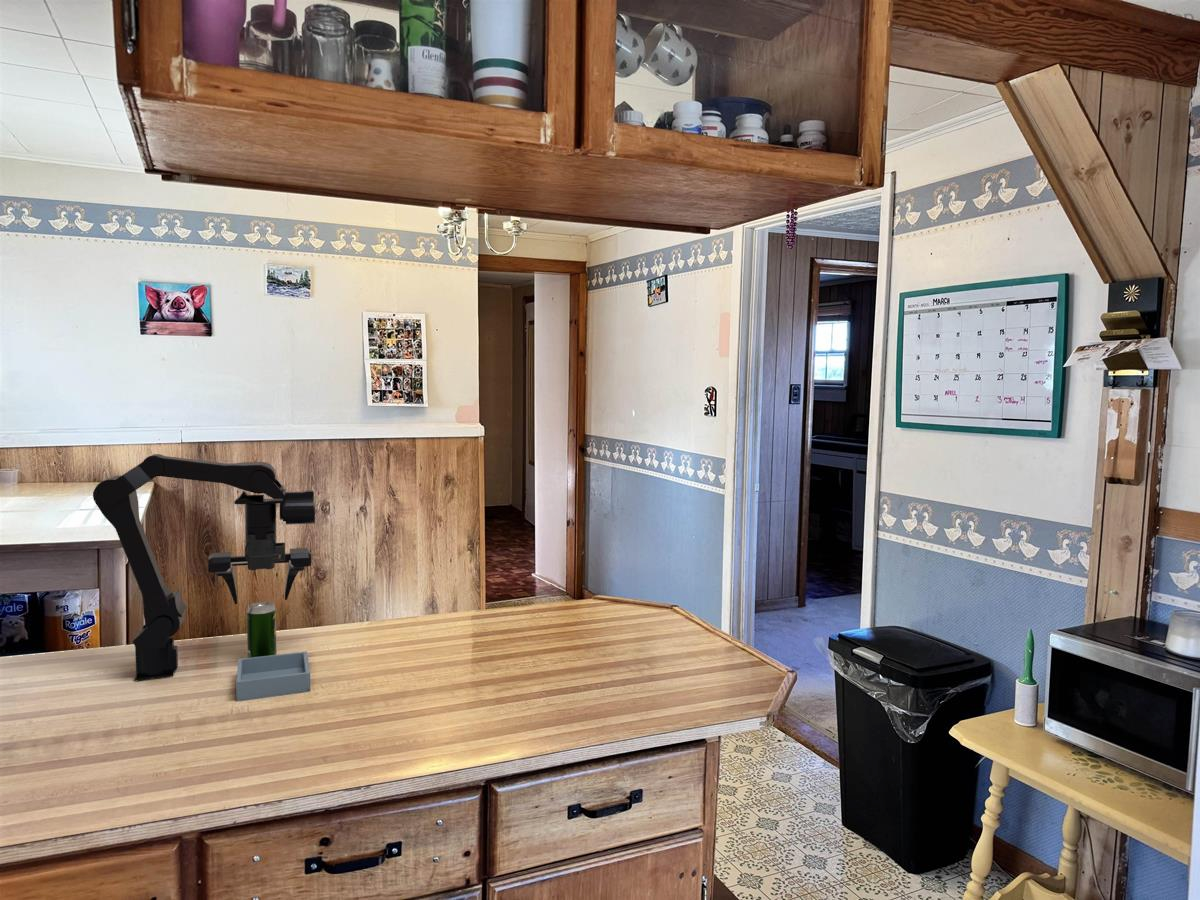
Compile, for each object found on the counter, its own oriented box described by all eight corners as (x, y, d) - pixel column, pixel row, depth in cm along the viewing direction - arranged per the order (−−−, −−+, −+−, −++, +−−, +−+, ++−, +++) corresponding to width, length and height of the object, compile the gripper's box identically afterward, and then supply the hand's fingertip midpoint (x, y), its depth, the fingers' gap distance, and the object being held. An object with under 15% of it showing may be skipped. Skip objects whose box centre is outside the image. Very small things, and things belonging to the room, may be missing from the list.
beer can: (253, 669, 153) (252, 610, 152) (243, 662, 157) (242, 604, 156) (280, 663, 157) (279, 605, 156) (270, 656, 161) (269, 599, 160)
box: (236, 701, 138) (236, 682, 138) (238, 676, 150) (238, 659, 149) (310, 691, 143) (310, 673, 143) (307, 668, 155) (306, 651, 154)
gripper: (206, 535, 144) (207, 617, 145) (313, 530, 151) (313, 608, 152) (209, 524, 154) (210, 601, 155) (309, 520, 161) (309, 594, 163)
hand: (261, 601), depth 156 cm, fingers open, 9 cm apart
